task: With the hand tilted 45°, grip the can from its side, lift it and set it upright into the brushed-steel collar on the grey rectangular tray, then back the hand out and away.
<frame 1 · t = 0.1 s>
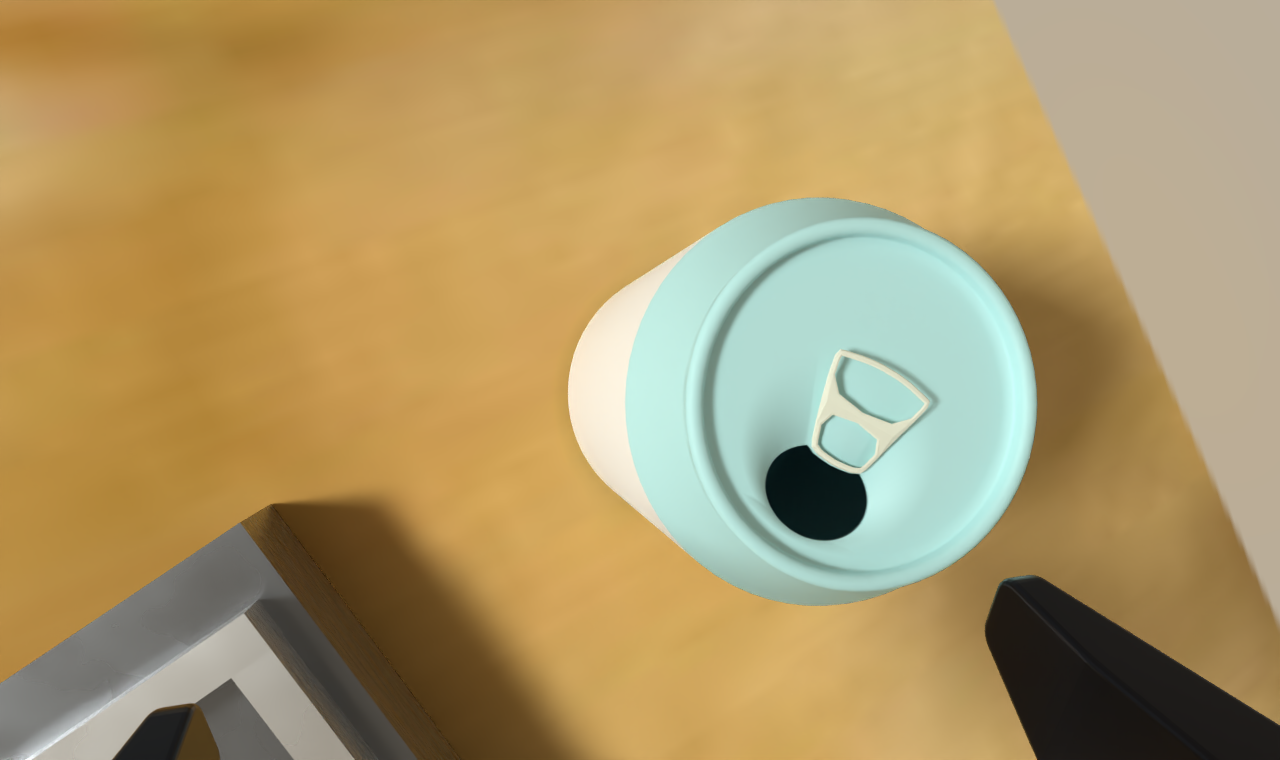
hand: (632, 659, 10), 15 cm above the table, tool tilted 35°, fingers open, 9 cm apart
can: (685, 392, 25), on the table
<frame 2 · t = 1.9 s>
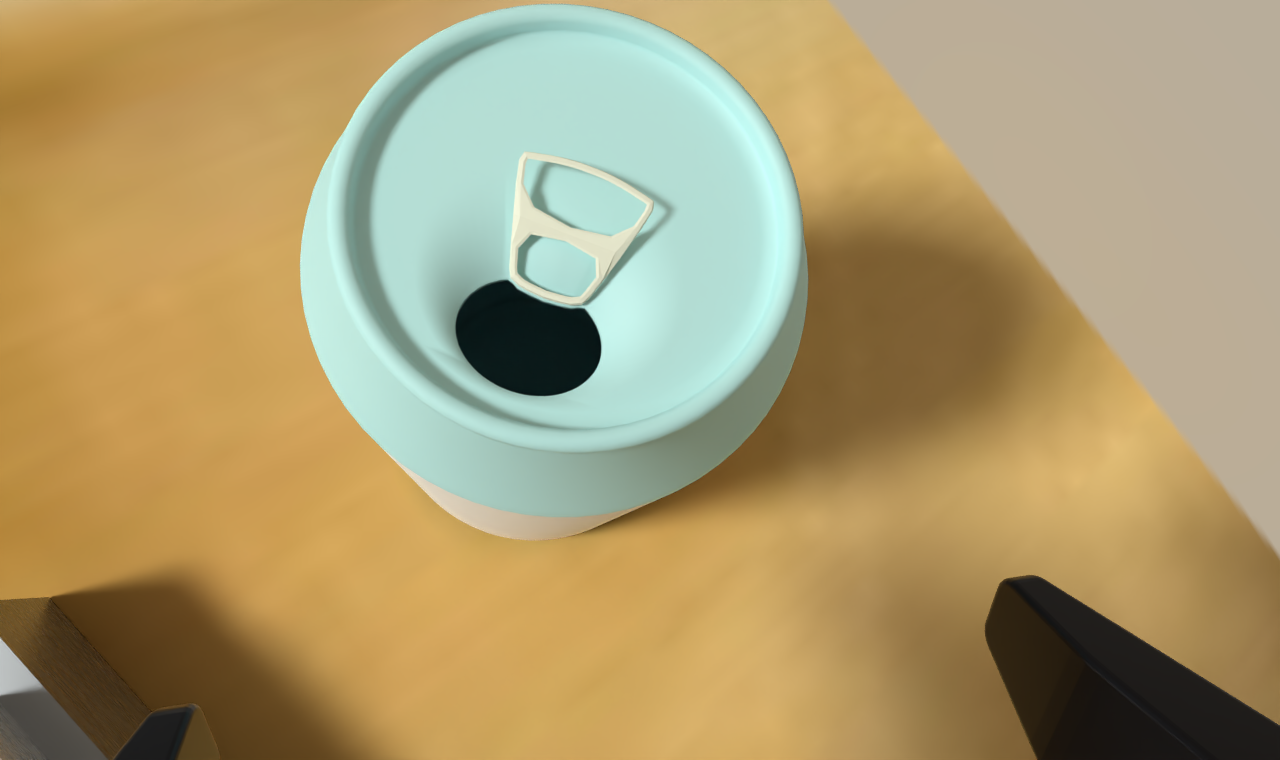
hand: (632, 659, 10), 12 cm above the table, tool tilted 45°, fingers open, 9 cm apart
can: (536, 401, 22), on the table
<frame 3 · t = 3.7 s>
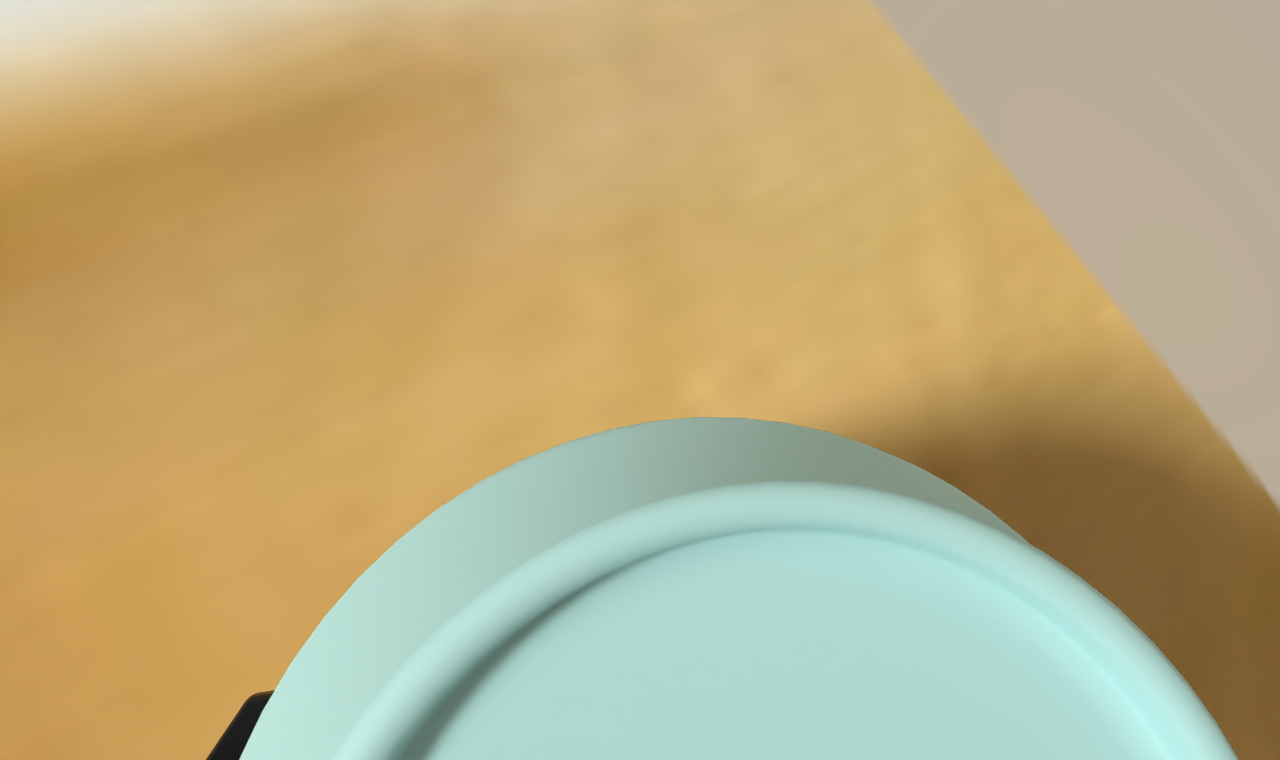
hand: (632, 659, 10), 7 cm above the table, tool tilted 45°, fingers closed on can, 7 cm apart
can: (587, 697, 16), on the table, touching gripper
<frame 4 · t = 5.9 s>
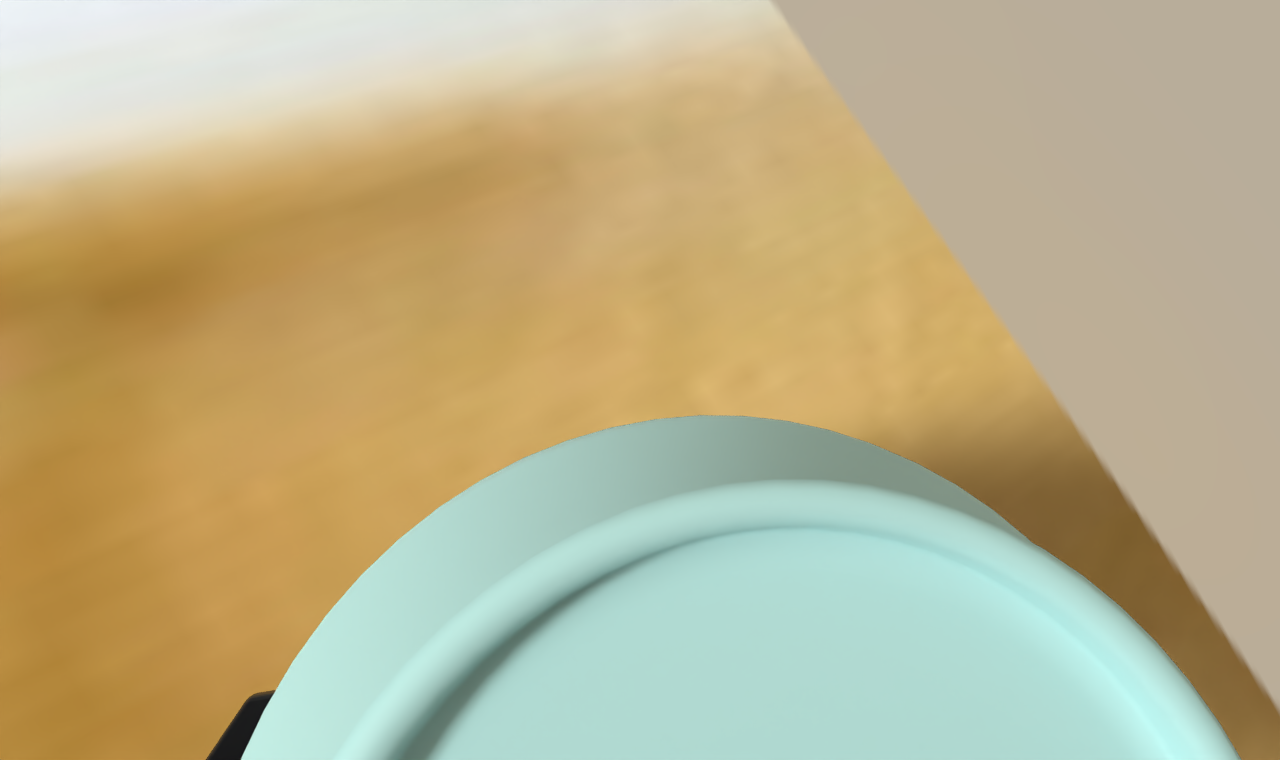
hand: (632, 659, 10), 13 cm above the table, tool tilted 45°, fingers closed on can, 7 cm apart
can: (587, 694, 16), point 6 cm above the table, touching gripper
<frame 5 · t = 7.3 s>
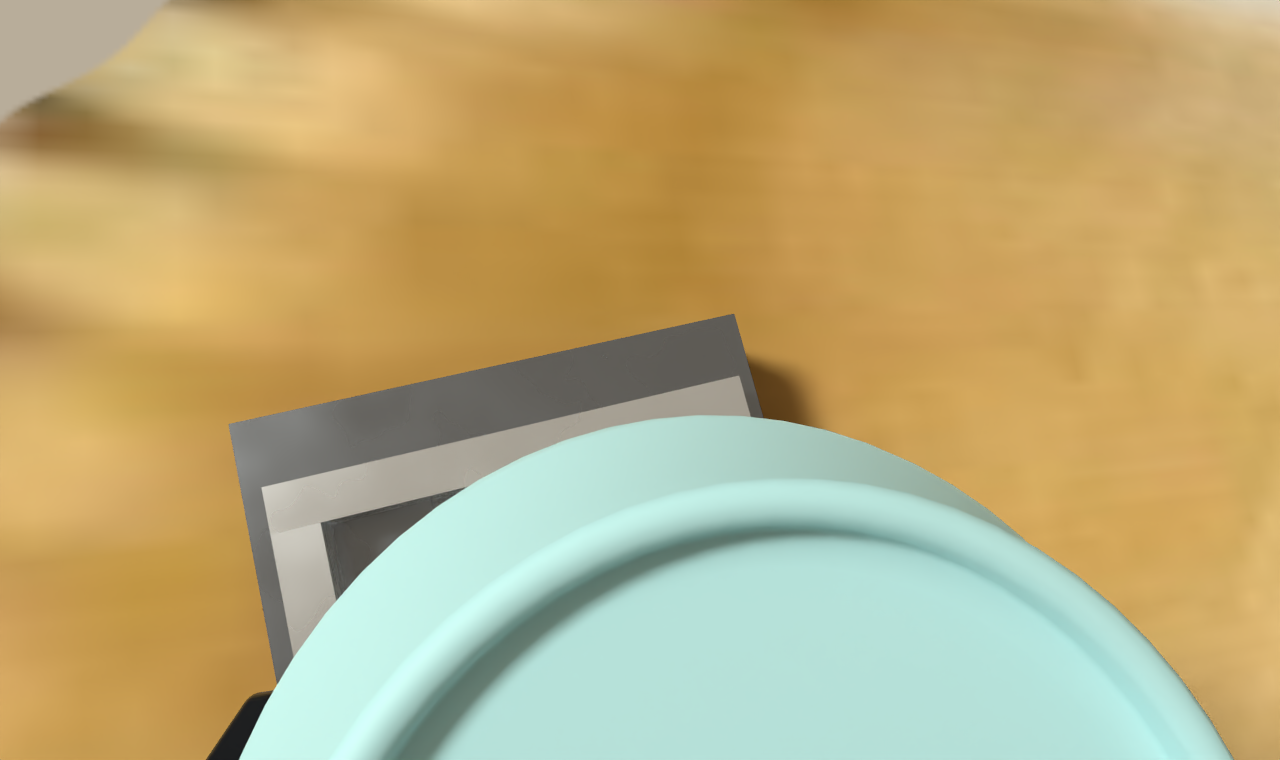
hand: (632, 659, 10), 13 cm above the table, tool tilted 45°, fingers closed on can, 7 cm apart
can: (586, 693, 16), point 6 cm above the table, touching gripper
grey rectangular tray: (558, 649, 22), on the table
when the fingers open (11 cm above the table, at t = 8.3 s): can drops 1 cm, resting on grey rectangular tray.
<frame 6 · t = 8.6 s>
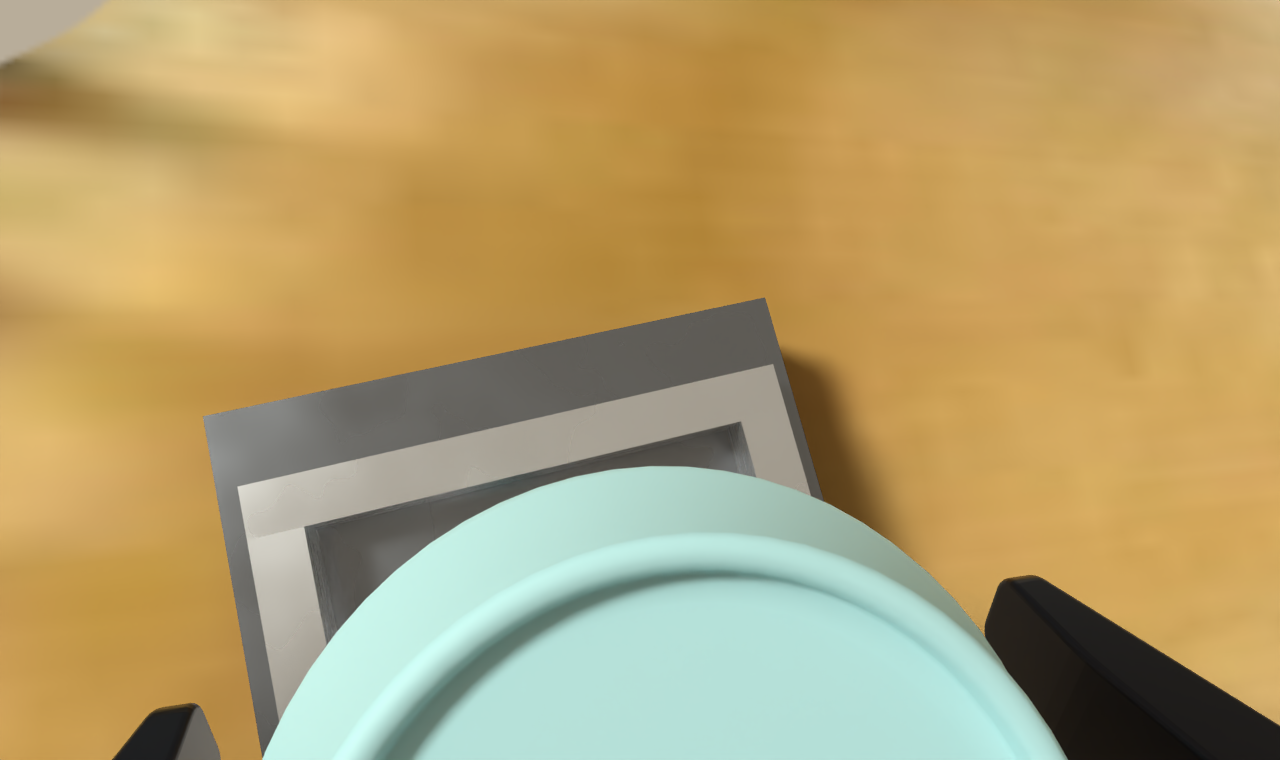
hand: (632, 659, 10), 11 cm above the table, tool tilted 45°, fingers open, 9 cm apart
can: (581, 695, 17), point 3 cm above the table, touching grey rectangular tray
grey rectangular tray: (569, 669, 20), on the table
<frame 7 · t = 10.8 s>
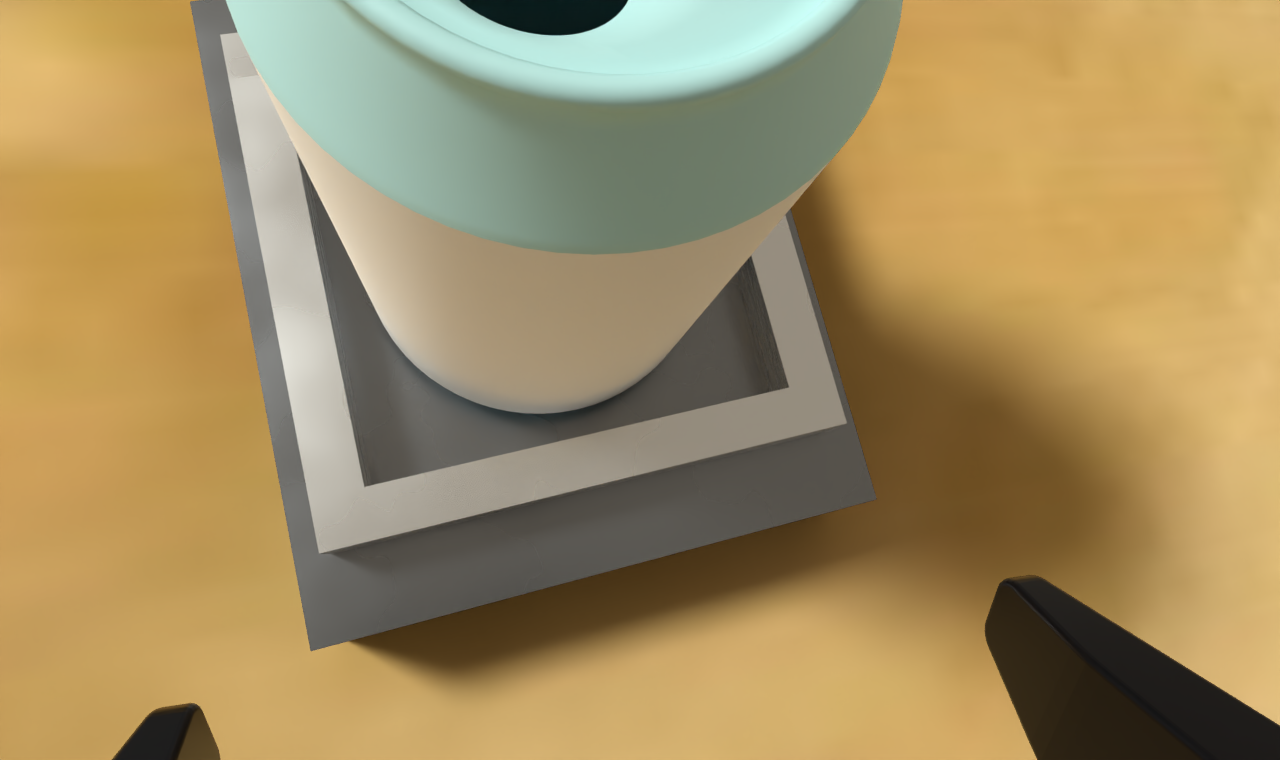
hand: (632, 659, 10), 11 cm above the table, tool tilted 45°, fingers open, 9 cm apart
can: (535, 261, 19), point 3 cm above the table, touching grey rectangular tray
grey rectangular tray: (530, 292, 22), on the table
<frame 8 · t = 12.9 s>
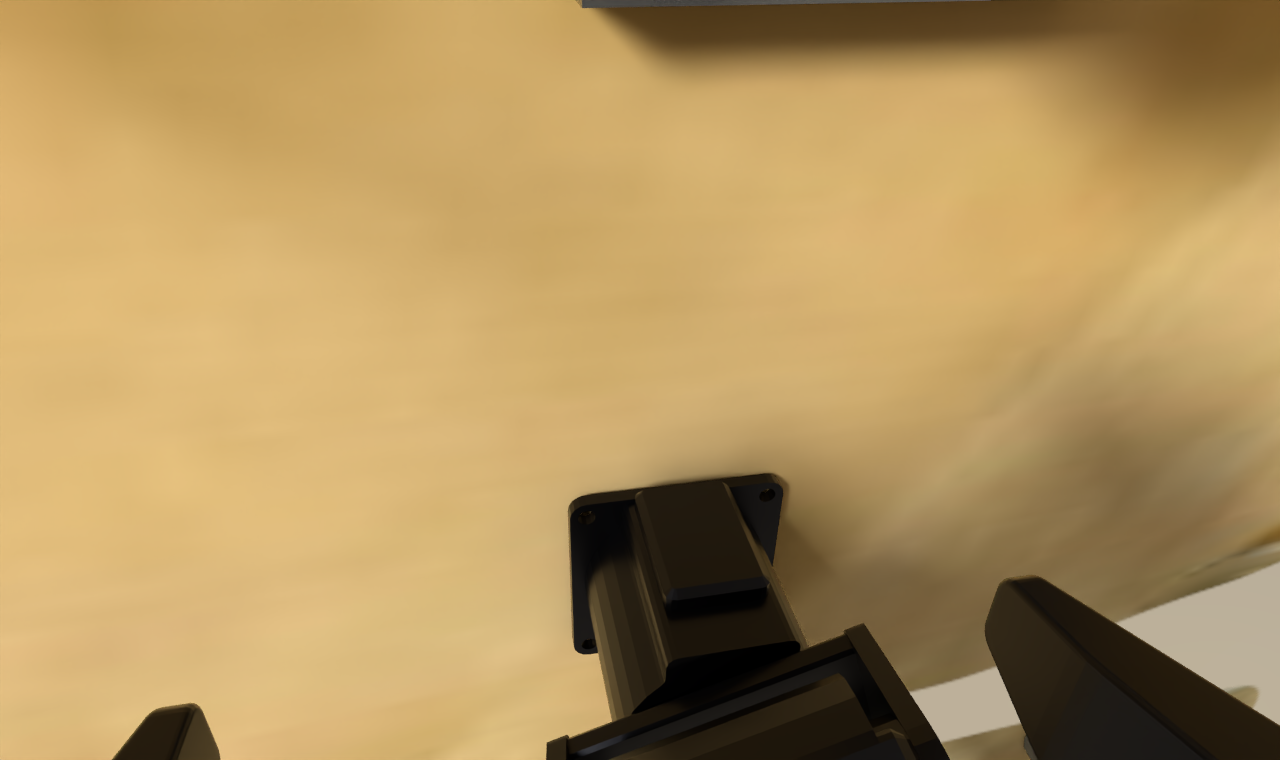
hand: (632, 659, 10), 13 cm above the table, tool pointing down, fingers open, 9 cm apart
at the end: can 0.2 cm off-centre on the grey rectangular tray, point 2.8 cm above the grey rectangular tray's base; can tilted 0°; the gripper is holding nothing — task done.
